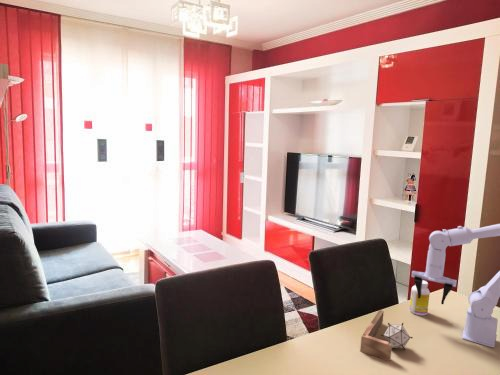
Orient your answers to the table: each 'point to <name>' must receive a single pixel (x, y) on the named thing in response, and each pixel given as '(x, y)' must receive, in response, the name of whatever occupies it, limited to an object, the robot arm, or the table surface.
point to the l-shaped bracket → (375, 340)
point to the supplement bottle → (419, 300)
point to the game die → (396, 336)
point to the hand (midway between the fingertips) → (430, 300)
